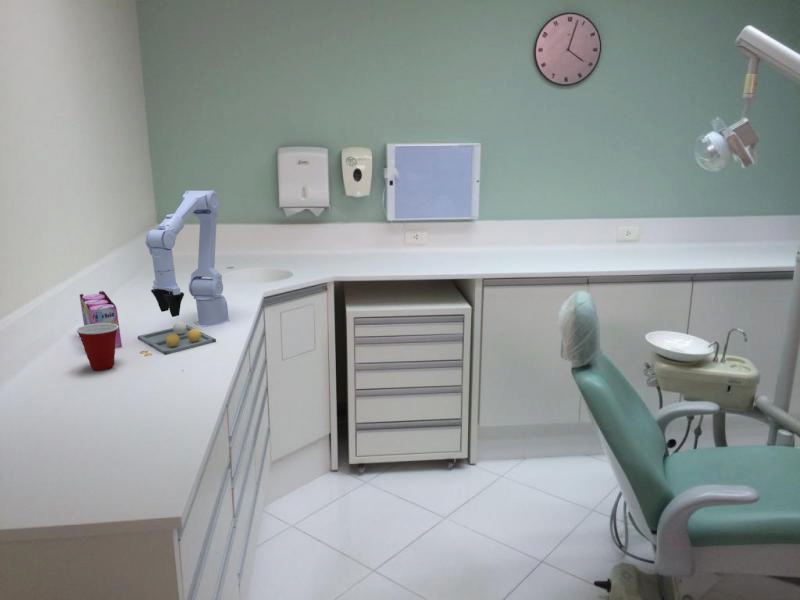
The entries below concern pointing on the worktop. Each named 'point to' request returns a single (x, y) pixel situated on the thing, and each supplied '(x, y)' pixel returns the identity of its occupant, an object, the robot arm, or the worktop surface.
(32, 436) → the worktop surface
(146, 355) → the card
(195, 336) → the amber ball
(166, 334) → the sorting tray
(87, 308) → the gum box
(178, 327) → the ivory ball
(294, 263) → the worktop surface
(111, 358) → the plastic cup
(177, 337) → the amber ball
